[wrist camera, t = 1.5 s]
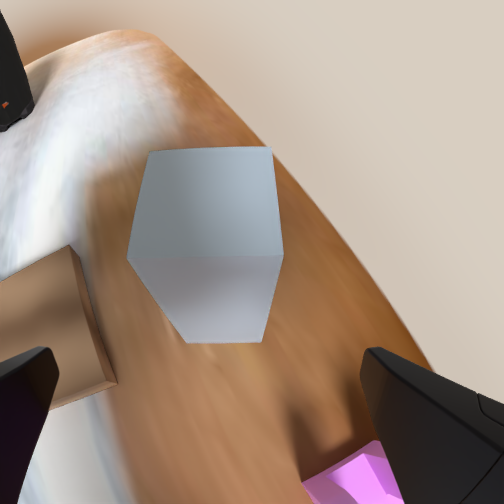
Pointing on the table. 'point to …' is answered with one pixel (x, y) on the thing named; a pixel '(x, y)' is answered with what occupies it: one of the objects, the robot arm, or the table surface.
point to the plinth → (56, 324)
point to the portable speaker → (12, 81)
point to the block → (209, 240)
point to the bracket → (356, 480)
